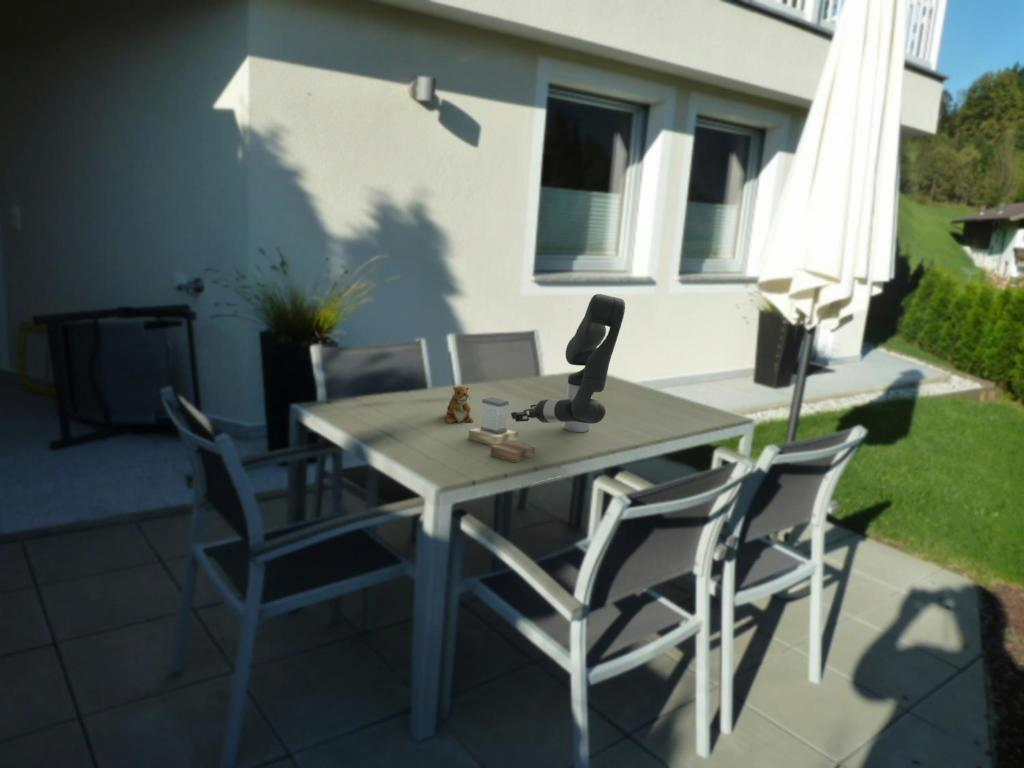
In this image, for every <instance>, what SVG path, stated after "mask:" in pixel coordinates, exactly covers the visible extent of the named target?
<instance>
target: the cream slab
mask: <svg viewBox="0 0 1024 768" xmlns="http://www.w3.org/2000/svg"><path fill="white" fill-rule="evenodd" d="M518 439H519V431H518V430H514V429H510V428H507V432H505V433H502V434H498V435H497V434H494V433H490V432H487V431H483V430H481V426H480V427H475V428H473V429H469V430H468V440H472V441H475V442H478V443H483V444H485V445H488V444H489V446H493V445H496V444H499V443H503V442H506V441H510V440H512V441H515V442H517V441H518Z"/></svg>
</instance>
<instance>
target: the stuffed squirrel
mask: <svg viewBox="0 0 1024 768" xmlns="http://www.w3.org/2000/svg"><path fill="white" fill-rule="evenodd" d="M451 388H452V390H453V392H454V393H453V395H452V396H451V399H450V400H449V404H448V405H447V410H446V413H445V419H446V422H447V424H450V423H451V424H454V423H456V422H455V421H458V422H457V423H462V422H464V423H474V419H473V418H472V417H471V415H470V412H471V411H472V410H471V409H472V408H471V406H470V404H469V403H468V402H467V401H468V398H469V400H471V399H472V397H471V396H470V394H468V391H469V390H470V386H461V385H460V386H452V387H451ZM461 421H462V422H461Z"/></svg>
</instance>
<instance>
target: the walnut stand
mask: <svg viewBox="0 0 1024 768" xmlns="http://www.w3.org/2000/svg"><path fill="white" fill-rule="evenodd" d="M535 448H536V447H535V446H532V445H529V444H525V443H521V442H518V441H512V440H510V441H506V442H503V443H499V444H496V445H493V446H492V445H490V456H492V455H493V457H496V458H499V459H502V458H503V459H502V460H505V459H506V461H508V460H510V461H509V462H512V461H513V462H512V463H517V462H521V461H523V460H526V459H529V458H533V457H534V456H535Z"/></svg>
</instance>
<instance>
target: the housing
mask: <svg viewBox="0 0 1024 768" xmlns="http://www.w3.org/2000/svg"><path fill="white" fill-rule="evenodd" d="M481 402H482V404H483V412H482V413H483V414H482V425H481V426H480V427H481V430H483V431H487V432H490V433H494V434H497V435H498V434H502V433H505V432H507V429H508V428H506V424H507V423H506V421H507V409H508V406H509V404H510V401H509V400H504V399H500V398H497V397H493V396H491V397H487V398H483V399H482V401H481Z"/></svg>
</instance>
